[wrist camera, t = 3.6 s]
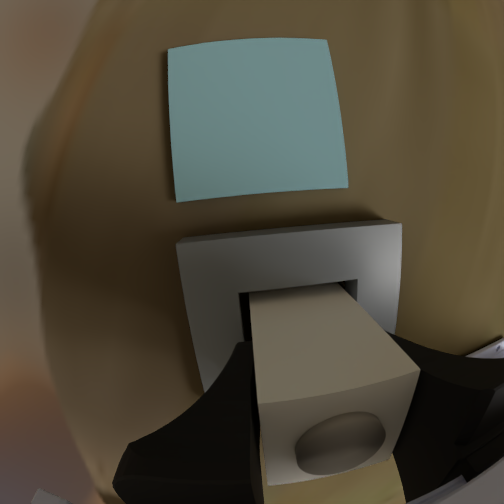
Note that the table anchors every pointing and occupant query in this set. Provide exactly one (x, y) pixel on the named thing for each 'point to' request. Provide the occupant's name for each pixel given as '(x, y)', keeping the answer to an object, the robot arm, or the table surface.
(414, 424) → the robot arm
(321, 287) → the plug
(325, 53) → the mat
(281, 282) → the grey square frame
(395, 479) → the table surface
